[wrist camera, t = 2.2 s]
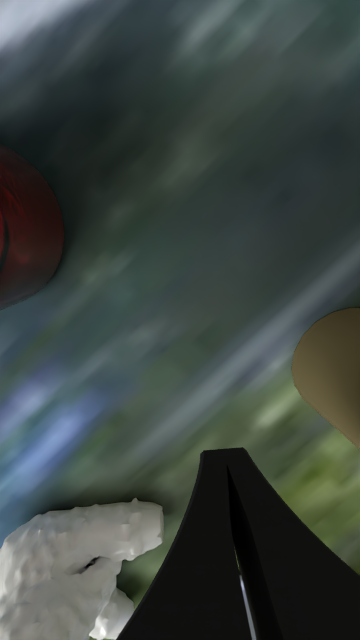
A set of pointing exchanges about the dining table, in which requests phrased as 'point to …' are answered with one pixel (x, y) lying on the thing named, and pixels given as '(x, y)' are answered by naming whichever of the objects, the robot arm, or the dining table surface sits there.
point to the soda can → (26, 229)
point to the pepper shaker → (332, 370)
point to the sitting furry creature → (73, 571)
